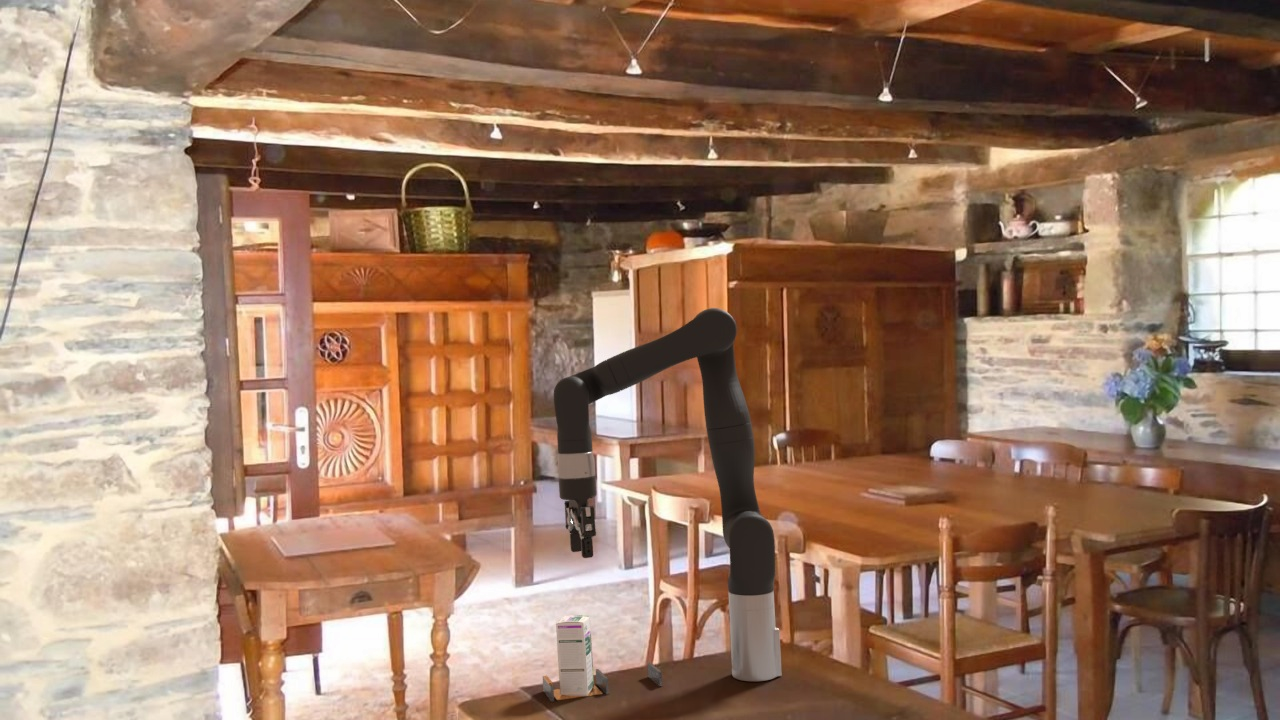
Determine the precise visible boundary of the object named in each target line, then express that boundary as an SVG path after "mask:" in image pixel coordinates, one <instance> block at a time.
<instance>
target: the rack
mask: <svg viewBox="0 0 1280 720" xmlns="http://www.w3.org/2000/svg"><path fill="white" fill-rule="evenodd" d="M646 664H647V678H649V679H650V678H651V679H652V680H653V681H654V684H655V685H657V684H658V685H659V686H662V687H663V677H662V670H660V669H659V668H658V667H657V666H655V665H654V664H653V663H651V662H650V661H647V663H646ZM595 679H596V680H595V682H596V685H597V686H598V687H597V686H596V685H595V684H594V687H593V689H592V690H591V691H590V693H589V694H588V696H587V697H591V696H597V695H603V692H604V693H605V694H606V695H609V694H610V690H609V687H610V686H609V678H608V677H607V676H606V675H605V674H604V673H603V672H602V671H601V670H600V669H599V668H596V669H595ZM651 679H650V680H651ZM652 680H651V681H652ZM653 681H652V682H653ZM658 685H657V686H658ZM659 686H658V687H659ZM599 688H600V689H599ZM542 691H543V693H544V695H546V697H547V698H548V699H549V701H550V702H551V703H554V702H555V700H556V701H561V700H562V701H563V700H568V699H576V698H583V697H586V696H564V695H560V688H556V689H555V688H554V685H553V681H552V680H551V679H550V677H549V676H548V675H543V676H542Z"/></svg>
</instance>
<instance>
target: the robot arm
mask: <svg viewBox="0 0 1280 720" xmlns="http://www.w3.org/2000/svg"><path fill="white" fill-rule="evenodd" d="M737 333H738V327H737V323H736V320H735V318H734V317H733V316H732V315H731V314H730V313H729V312H728V311H726V310H724V309H721V308H718V307H716V308H715V307H712V308H710V307H709V308H707V309H704V310H702V311H701V312H699V313H698V314H696V316H695V317H694V318H693V319H692V320H690V321H688V322H687V323H686V324H684V325H682V326H681V327H679V328H678V329H676V330H673V331H672V332H670V333H668V334H666V335H664V336H662V337H659V338H657V339H655V340H651V341H649V342H646V343H643V344H641V345H639V346H635V347H633V348H631V349H628V350H626V351H623V352H620V353H618V354H616V355H613V356H611V357H609V358H607V359H605V360H603V361H601V362H599V363H598V364H596V365H594V366H593V367H590V368H587V369H585V370H582V371H580V372H578V373H575V374H572V375H570V376H566V377H564V378H562V379H560V380H558V382H557V383H556V385H555V387H554V390H553V405H554V413H555V419H556V425H557V434H556V436H557V439H556V440H557V453H558V455H557V458H558V459H557V473H558V493H559V498H560V499H561V500H562V501H563V500H564V515H565V517H564V518H565V528H566V530H567V532H568V534H569V543H570V545H569V546H570V551H571V552H572V553H577V552H579V553H580V552H581V557H582V558H583V559H589V558H594V545H593V542H594V541H593V538H594V537H596V535H597V529H596V521H595V520H596V519H595V518H596V517H595V507H594V505H589V499H593V498H595V497H597V493H598V492H597V480H596V479H597V478H596V466H595V465H596V463H595V456H594V452H593V451H594V450H593V435H592V430H591V426H590V410H589V409H590V408H589V405H590V404H592V403H594V402H596V401H598V400H601V399H603V398H604V397H607V396H610V395H614V394H617V393H620V392H622V391H625V390H626V389H629V388H631V387H633V386H635V385H637V384H639V383H641V382H644V381H645V380H648V379H650V378H651V377H653V376H655V375H657V374H660V373H661V372H663V371H665V370H667V369H669V368H672V367H674V366H676V365H679V364H681V363H683V362H687V361H689V360H692V359H697V363H698V367H699V371H700V375H701V376H700V377H701V382H702V395H703V396H702V397H703V399H702V400H703V409H704V419H705V420H704V421H705V427H706V434H707V441H708V446H709V450H710V454H711V455H710V456H711V461H712V463H713V464H712V465H713V468H714V473H715V476H716V481H717V484H718V488H719V493H720V506H721V520H722V521H721V522H722V523H721V524H722V535H723V539H724V542H725V544H726V546H727V547H728V548H729V566H730V567H729V569H730V571H729V576H728V578H727V587H728V589H727V590H728V610H729V611H728V612H729V613H728V614H729V632H730V636H729V637H730V654H731V658H730V659H731V672H732V673H731V675H732V677H733V678H734V679H736V680H739V681H744V682H764V681H769V680H773V679H775V678H777V677H782V656H781V655H782V654H781V636H780V635H781V634H780V632H781V631H780V628H778V627H776V615H775V613H776V612H775V611H776V610H775V594H774V593H775V591H774V589H775V587H774V583H775V578H776V543H775V541H776V540H775V533H774V530H773V526H772V525H771V523H770V522H769V520H767V519H766V518H765V517H763V516H762V514H761V510H760V507H759V506H760V505H759V503H758V502H759V501H758V499H757V494H756V490H755V479H754V477H755V476H754V475H755V474H754V473H755V472H754V471H755V458H756V457H755V456H756V455H755V454H756V451H755V449H756V448H755V447H756V446H755V437H754V432H753V426H752V421H751V415H750V412H749V411H750V410H749V407H748V405H747V402H746V398H745V394H744V392H743V388H742V386H741V384H740V380H739V378H738V374H737V368H736V366H737V365H736V358H735V346H734V342H735V341H736V338H737V335H738V334H737Z"/></svg>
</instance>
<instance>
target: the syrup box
mask: <svg viewBox="0 0 1280 720" xmlns="http://www.w3.org/2000/svg"><path fill="white" fill-rule="evenodd" d="M555 626H556V627H555V629H556V647H557V648H556V649H557V663H558V675H559V676H558V680H559V689H560V695H564V696H585V697H589V696H588V694H589V693H590V691H591V690H592V689H593V687H594V685H595V680H594V679H595V678H594V675H595V674H594V664H593V646H592V630H591V617H590V615H583V614H582V615H579V614H578V615H577V614H575V615H564V616H563V615H562V617H561V619H559V620H558V621H557V622H556V624H555Z"/></svg>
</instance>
